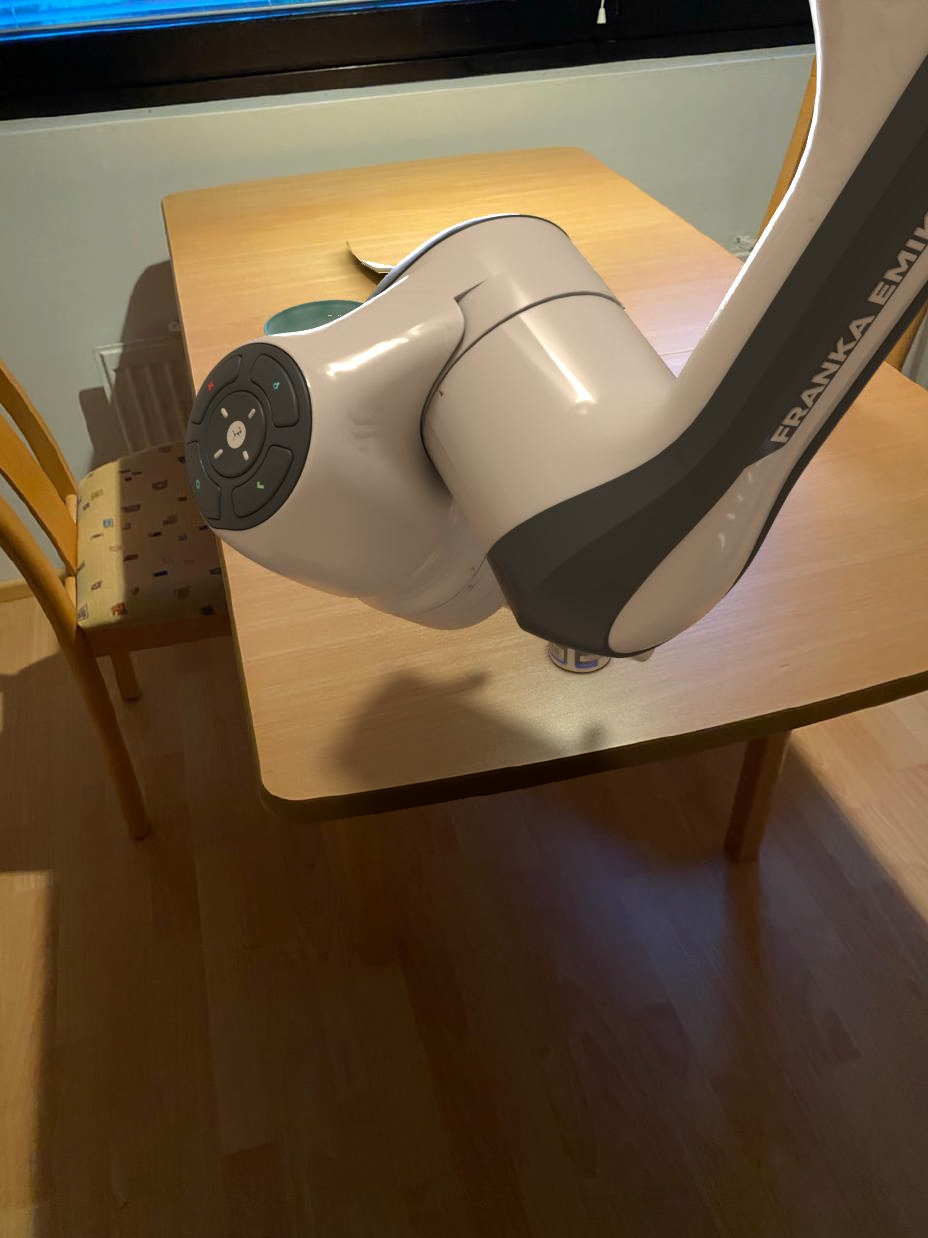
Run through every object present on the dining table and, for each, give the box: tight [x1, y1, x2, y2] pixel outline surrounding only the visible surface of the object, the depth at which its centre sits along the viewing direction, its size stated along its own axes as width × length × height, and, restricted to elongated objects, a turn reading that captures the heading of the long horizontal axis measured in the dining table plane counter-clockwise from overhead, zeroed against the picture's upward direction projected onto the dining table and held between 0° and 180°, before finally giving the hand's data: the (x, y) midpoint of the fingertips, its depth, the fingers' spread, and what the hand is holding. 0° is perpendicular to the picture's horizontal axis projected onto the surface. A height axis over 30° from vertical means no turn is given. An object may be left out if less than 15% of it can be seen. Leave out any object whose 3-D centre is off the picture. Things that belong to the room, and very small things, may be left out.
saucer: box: [263, 299, 364, 336], centre depth 117 cm, size 15×15×3 cm
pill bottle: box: [548, 641, 611, 673], centre depth 67 cm, size 5×5×8 cm
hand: (540, 593), depth 60 cm, fingers open, 8 cm apart
